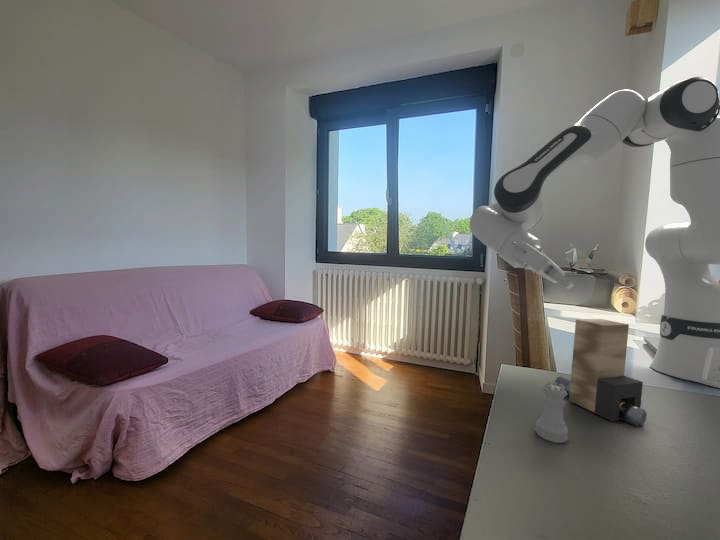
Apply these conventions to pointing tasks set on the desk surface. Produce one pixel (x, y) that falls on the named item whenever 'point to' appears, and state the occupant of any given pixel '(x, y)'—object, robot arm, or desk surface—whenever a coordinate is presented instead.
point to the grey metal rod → (626, 409)
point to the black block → (616, 395)
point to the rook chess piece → (553, 415)
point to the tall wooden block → (596, 357)
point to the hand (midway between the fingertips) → (570, 285)
